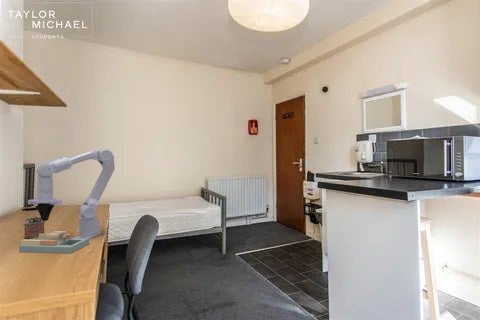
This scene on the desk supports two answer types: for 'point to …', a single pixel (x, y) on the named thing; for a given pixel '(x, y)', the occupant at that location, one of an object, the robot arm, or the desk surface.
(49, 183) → the robot arm
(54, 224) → the desk surface
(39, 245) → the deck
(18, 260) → the desk surface
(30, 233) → the lighter
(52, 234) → the block
